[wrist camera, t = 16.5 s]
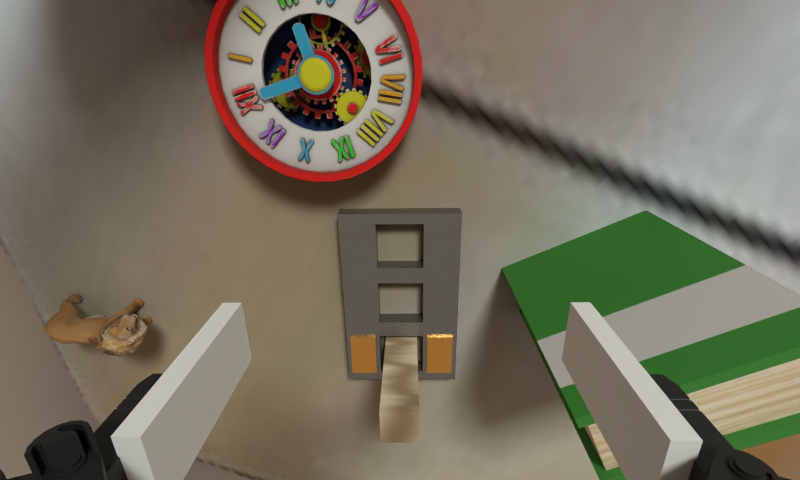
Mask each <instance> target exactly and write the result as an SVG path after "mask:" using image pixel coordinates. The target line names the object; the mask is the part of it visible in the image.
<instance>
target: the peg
mask: <svg viewBox="0 0 800 480" xmlns="http://www.w3.org/2000/svg"><path fill="white" fill-rule="evenodd" d="M379 421H380V442H419V393H418V358H417V336H386V343H385V354H384V365H383V375H382V386H381V397H380V408H379Z"/></svg>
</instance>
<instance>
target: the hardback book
mask: <svg viewBox="0 0 800 480" xmlns="http://www.w3.org/2000/svg"><path fill="white" fill-rule="evenodd" d="M502 270H503V273H504V275H505V277H506V279H507V281H508V283H509V285H510V287H511V290H512V292H513V294H514V296H515V298H516V300H517V302H518V304H519V306H520V308H521V310H520V313H521V315H522V317H523V319H524V321H525V324H526V326H527V328H528V330H529V332H530V334H531V336H532V338H533V340H534V342H535V345H536V347H537V349H538V351H539V353H540V355H541V357H542V359H543V361H544V364H545V366H546V368H547V370H548V372H549V374H550V376H551V378H552V380H553V382H554V385H555V387H556V389H557V391H558V393H559V395H560V397H561V399H562V401H563V403H564V406H565V408H566V410H567V412H568V414H569V416H570V418H571V420H572V422H573V424H574V427H575V429H576V431H577V433H578V435H579V437H580V439H581V441H582V443H583V445H584V448H585V450H586V452H587V454H588V456H589V458H590V460H591V462H592V464H593V467H594V469H595V471H596V473H597V475H598V477H599V479H600V480H627V479H626V478H625V476H624V474H623V472H622V470H621V468H620V467H619V465H618V463H617V461H616V459H615V457H614V456H613V454H612V452H611V450H610V448H609V446H608V444H607V443H606V441H605V439H604V437H603V435H602V433H601V432H600V430H599V428H598V426H597V424H596V422H595V421H594V419H593V417H592V415H591V413H590V411H589V409H588V408H587V406H586V404H585V402H584V400H583V398H582V397H581V395H580V393H579V391H578V389H577V387H576V386H575V384H574V382H573V380H572V378H571V376H570V374H569V373H568V371H567V369H566V367H565V365H564V363H563V362H562V354H563V347H564V341H565V335H566V328H567V322H568V316H569V309H570V303H571V302H590V303H591V304H592V305H593V306H594V308H595V309H596V310H597V311H598V312H599V314H600V315H601V316H602V317H603V319H604V320H605V321H606V322H607V324H608V325H609V326H610V327H611V328H612V330H613V331H614V332H615V333H616V335H617V336H618V337H619V338H620V339H621V341H622V342H623V343H624V344H625V346H626V347H627V348H628V349H629V351H630V352H631V353H632V354H633V355H634V357H635V358H636V359H637V360H638V362H639V363H640V364H641V365H642V367H643V368H644V369H645V370H646V371H647V373H648V374H663V375H664V376H666V377H667V378H668V379H670V380H671V381H673V382H674V383H676V384H677V385H679V387H680V388H681V389H682V390H683V391H684V392H685V393H686V394H687V396H688V397H689V398H690V401H693V402H694V404H695V405H696V406H697V407H698V408H699V411H702V413H703V414H704V415H705V416H706V417H707V418H708V419H709V421H710V422H711V423H712V424H713V425H714V426H715V427H716V429H717V430H718V431H719V432H720V433H721V434H722V435H723V436H724V438H725V439H726V440H727V441H728V442H729V443H730V444H731V446H732V447H733V448H734V449H737V450H743V449H746V448H750V447H753V446H757V445H760V444H763V443H767V442H771V441H774V440H778V439H781V438H784V437H788V436H791V435H795V434H798V433H800V295H799V294H797V293H796V292H794V291H792V290H790V289H788V288H786V287H785V286H783V285H781V284H779V283H777V282H776V281H774V280H772V279H770V278H768V277H766V276H765V275H763V274H761V273H759V272H757V271H756V270H754V269H752V268H750V267H748V266H746V265H745V264H743V263H741V262H739V261H737V260H736V259H734V258H732V257H730V256H728V255H726V254H725V253H723V252H721V251H719V250H717V249H716V248H714V247H712V246H710V245H708V244H706V243H705V242H703V241H701V240H699V239H697V238H696V237H694V236H692V235H690V234H688V233H686V232H685V231H683V230H681V229H679V228H677V227H675V226H674V225H672V224H670V223H668V222H666V221H665V220H663V219H661V218H659V217H657V216H655V215H654V214H652V213H650V212H648V211H643V212H641V213H638V214H636V215H633V216H631V217H628V218H626V219H623V220H621V221H618V222H616V223H613V224H611V225H608V226H606V227H603V228H601V229H598V230H596V231H594V232H591V233H589V234H586V235H584V236H581V237H579V238H576V239H574V240H571V241H569V242H566V243H564V244H561V245H559V246H556V247H554V248H551V249H549V250H546V251H544V252H541V253H539V254H536V255H534V256H531V257H529V258H526V259H524V260H521V261H519V262H516V263H514V264H511V265H509V266H506V267H504V268H502Z"/></svg>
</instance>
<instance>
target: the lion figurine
mask: <svg viewBox="0 0 800 480" xmlns="http://www.w3.org/2000/svg"><path fill="white" fill-rule="evenodd" d="M81 300H82V298H81V296H79V295H78V294H74V295H72V296H70V297H69V298H68V299H66V300H65V301H64V302H62V303H61V305H60V308H61V310H60V312H58V313H57V314H55V315H54V316H53V317H52V318H51V319H50V320H49V321H48V322H47V324H46V325H45V331H46V333H47V334H48V335H49V336H50V337H51V338H52V339H54V340H55V341H57V342H60V343H87V344H93V346H94V348H96V349H98V350H99V351H102V352H103V353H106V354H107V355H115V356H121V355H125V354H129V353H133V352H134V351H135V350H136V349H138V348H139V346H140V345H141V344H142V343H143V340H144V339H145V337H146V335H147V332H148V326H147V325H148V324H149V323H151V321H152V320H151V318H150V317H149V316H144V317H141V318H139V317H138V316H137V315H136V314H132V315H130V314H131V313H132V312H134V311H136V310H137V309H138V308H140V307H142V306H143V305H144V302H143V301H142V300H141V299H139V298H137V299H135V300H134V301H133V302H132V303H131V304H130V305H129V306H128V307H127V308H125V309H123V310H121V311H120V312H118V313H117V314H116V315H114V316H113V317H112V318H107V317H105V316H103V315H95V316H91V317H86V318H83V319H79V318H78V316H77V311H76V308H75V307H74V306H73V305H72V304H71V303H79V302H80V301H81Z"/></svg>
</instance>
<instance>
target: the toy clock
mask: <svg viewBox="0 0 800 480" xmlns="http://www.w3.org/2000/svg"><path fill="white" fill-rule="evenodd" d="M205 71H206V76H207V80H208V85H209V90H210V93H211V96H212V98H213V101H214V104H215V107H216V109H217V111H218V113H219V115H220V117H221V118H222V120H223V122H224V124H225V126H226V127H227V129H228V130H229V131H230V133H231V134H232V135H233V137H234V138H235V139H236V140H237V142H238V143H239V144H240V145H241V146H242V147H243V148H244V149H245V150H246V151H247V152H248V153H249V154H251V155H252V156H253V157H254V158H256V159H257V160H259V161H260V162H261V163H263V164H264V165H266V166H267V167H269V168H271V169H273V170H275V171H277V172H279V173H281V174H284V175H287V176H290V177H293V178H297V179H300V180H307V181H315V182H326V181H337V180H342V179H347V178H351V177H354V176H356V175H358V174H361V173H363V172H366V171H368V170H369V169H371V168H372V167H374V166H375V165H377V164H379V163H380V162H382V161H383V160H384V159H385V158H386V157H387V156H388V155H389V154H390V153H391V152H392V151H393V150H394V149H395V148H396V147H397V145H398V144H399V143H400V141H401V140H402V139H403V137H404V136H405V135H406V133H407V131H408V129H409V127H410V125H411V123H412V121H413V119H414V116H415V113H416V110H417V107H418V103H419V100H420V93H421V86H422V57H421V52H420V47H419V41H418V37H417V34H416V32H415V29H414V26H413V23H412V20H411V18H410V16H409V14H408V12H407V10H406V9H405V7H404V5H403V3H402V2H401V0H218V1H217V3H216V5H215V7H214V8H213V11H212V15H211V18H210V21H209V24H208V28H207V34H206V42H205Z"/></svg>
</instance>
